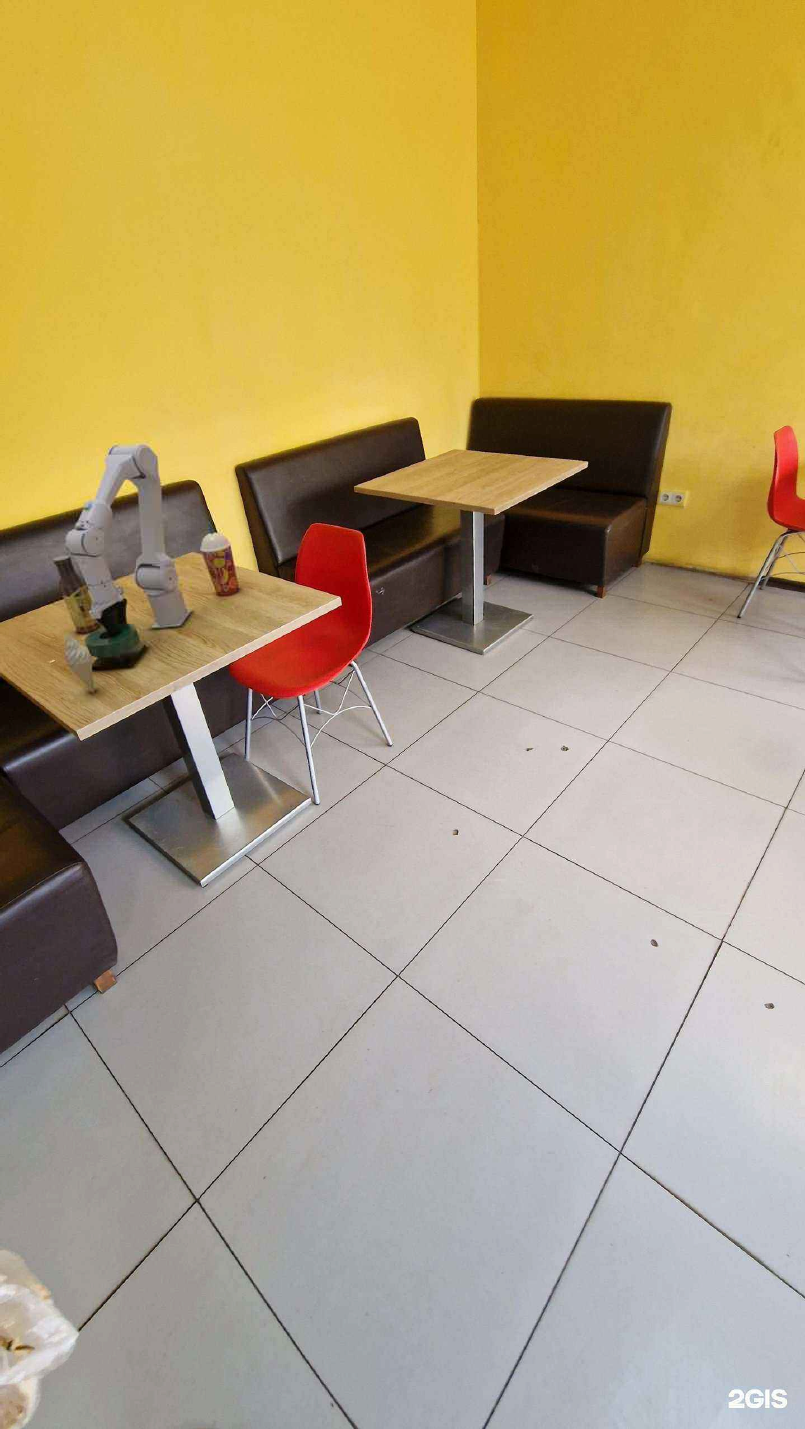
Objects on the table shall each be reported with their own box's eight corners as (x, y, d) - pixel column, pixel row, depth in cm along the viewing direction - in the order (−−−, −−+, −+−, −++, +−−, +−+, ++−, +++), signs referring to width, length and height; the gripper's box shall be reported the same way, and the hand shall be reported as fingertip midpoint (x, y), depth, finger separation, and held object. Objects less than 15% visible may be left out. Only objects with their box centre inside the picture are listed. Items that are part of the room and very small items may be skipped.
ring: (102, 636, 157) (97, 625, 155) (147, 633, 156) (142, 621, 154) (81, 659, 148) (76, 647, 146) (128, 655, 147) (124, 643, 145)
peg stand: (108, 651, 158) (100, 631, 155) (147, 648, 157) (139, 627, 154) (91, 671, 150) (82, 650, 147) (131, 667, 149) (123, 647, 146)
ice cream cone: (97, 683, 144) (72, 624, 136) (109, 689, 141) (83, 629, 133) (77, 694, 141) (49, 633, 133) (88, 700, 138) (60, 639, 130)
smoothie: (212, 589, 186) (193, 522, 175) (240, 583, 188) (223, 516, 177) (214, 599, 180) (194, 530, 168) (243, 593, 181) (225, 524, 170)
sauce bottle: (92, 633, 168) (62, 562, 157) (72, 633, 170) (41, 563, 159) (106, 623, 174) (78, 553, 163) (87, 623, 175) (58, 554, 164)
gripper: (102, 591, 140) (123, 645, 148) (127, 567, 152) (146, 618, 160) (72, 594, 141) (95, 647, 149) (99, 570, 153) (119, 621, 161)
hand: (119, 633), depth 154 cm, fingers closed on ring, 3 cm apart
